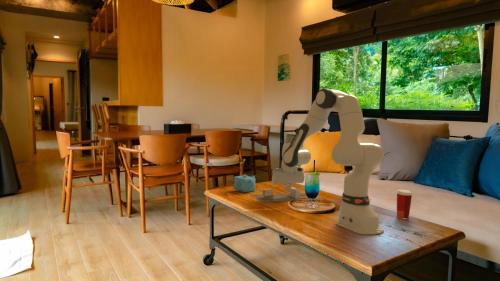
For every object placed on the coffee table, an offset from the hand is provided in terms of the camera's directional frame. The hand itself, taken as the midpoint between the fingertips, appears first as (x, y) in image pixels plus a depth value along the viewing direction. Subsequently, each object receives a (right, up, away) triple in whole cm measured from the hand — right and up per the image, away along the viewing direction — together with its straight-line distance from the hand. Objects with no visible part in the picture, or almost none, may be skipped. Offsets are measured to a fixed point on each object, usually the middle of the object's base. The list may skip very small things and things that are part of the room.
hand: (287, 190), depth 203 cm
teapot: (-26, -3, +14) cm, 30 cm away
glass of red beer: (+56, -10, -30) cm, 65 cm away
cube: (-12, -4, -4) cm, 13 cm away
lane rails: (-2, -5, -1) cm, 5 cm away
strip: (-6, -5, -2) cm, 8 cm away
